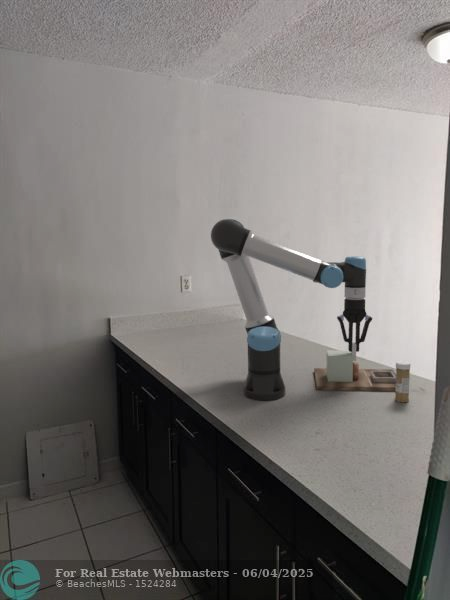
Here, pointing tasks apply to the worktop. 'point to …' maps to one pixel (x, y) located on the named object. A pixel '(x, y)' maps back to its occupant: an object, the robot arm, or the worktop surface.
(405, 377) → the sprinkles bottle
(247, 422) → the worktop surface
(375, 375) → the socket
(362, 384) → the board
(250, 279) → the robot arm
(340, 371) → the cover
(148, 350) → the worktop surface
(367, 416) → the worktop surface
